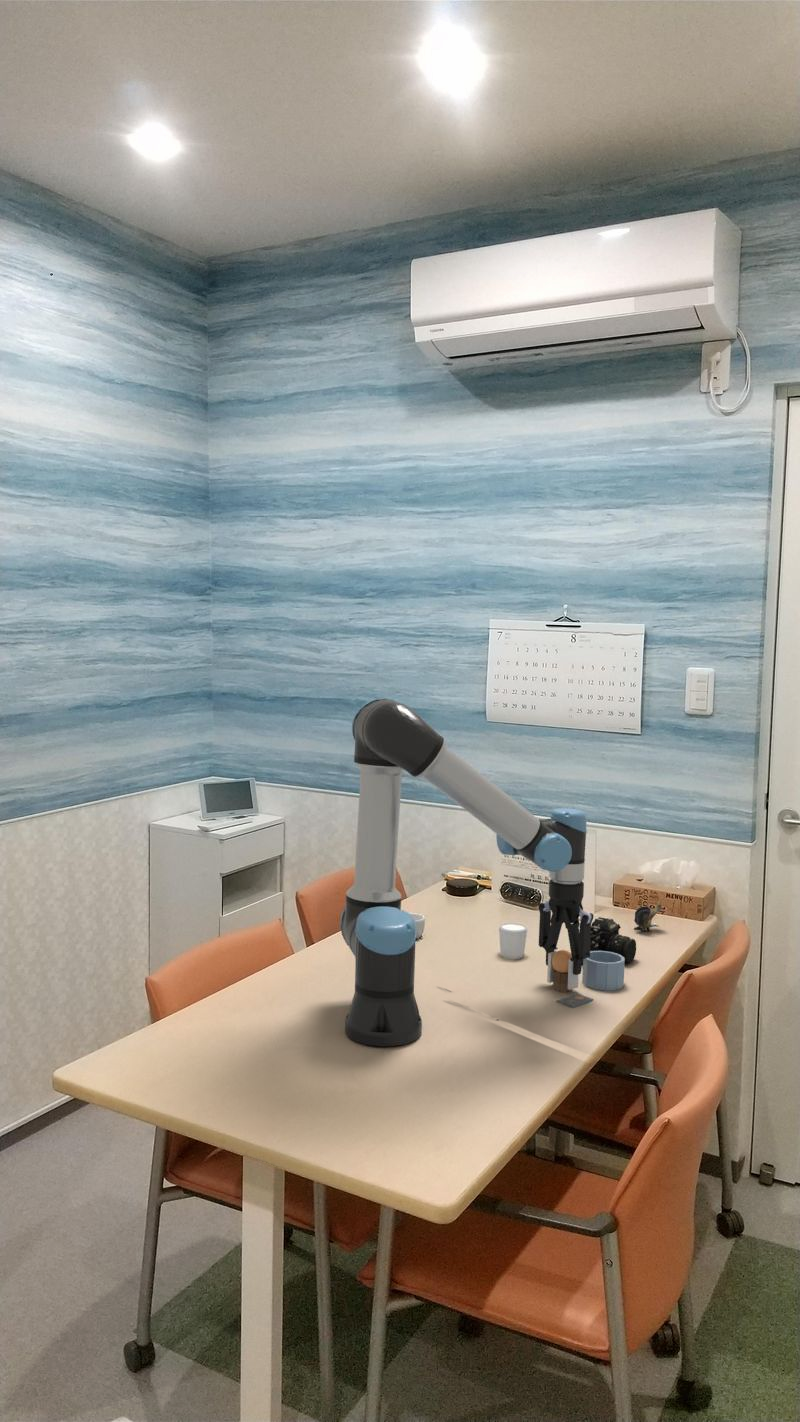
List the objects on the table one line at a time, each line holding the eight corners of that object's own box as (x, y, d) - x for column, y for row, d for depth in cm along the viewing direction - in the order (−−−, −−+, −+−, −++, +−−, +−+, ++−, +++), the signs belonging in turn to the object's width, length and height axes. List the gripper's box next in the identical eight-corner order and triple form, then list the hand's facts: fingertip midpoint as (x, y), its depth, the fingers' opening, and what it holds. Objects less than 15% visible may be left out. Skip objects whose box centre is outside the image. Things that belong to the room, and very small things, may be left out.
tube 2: (607, 993, 215) (608, 966, 214) (574, 982, 221) (575, 955, 221) (631, 984, 221) (632, 958, 220) (598, 974, 227) (599, 948, 227)
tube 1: (563, 993, 214) (564, 975, 214) (549, 988, 217) (550, 970, 217) (575, 989, 217) (576, 971, 216) (561, 984, 220) (561, 966, 219)
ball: (564, 978, 213) (565, 955, 213) (546, 972, 217) (547, 949, 216) (579, 973, 216) (580, 951, 216) (561, 967, 220) (561, 945, 220)
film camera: (631, 976, 227) (633, 933, 226) (577, 969, 231) (579, 927, 230) (638, 953, 244) (640, 914, 243) (588, 947, 248) (589, 908, 247)
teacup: (405, 931, 257) (405, 911, 257) (430, 936, 253) (430, 916, 253) (383, 940, 249) (383, 919, 249) (408, 946, 245) (409, 924, 244)
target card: (572, 1007, 205) (573, 1005, 205) (556, 1001, 209) (556, 1000, 209) (593, 1000, 210) (593, 998, 210) (576, 994, 213) (576, 992, 213)
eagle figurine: (653, 942, 253) (655, 908, 252) (627, 937, 257) (628, 903, 256) (663, 936, 259) (665, 902, 258) (637, 931, 263) (639, 897, 263)
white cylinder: (527, 960, 236) (529, 931, 235) (499, 959, 236) (500, 930, 236) (524, 951, 243) (525, 923, 242) (496, 950, 243) (497, 922, 242)
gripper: (610, 885, 211) (606, 992, 213) (545, 870, 224) (541, 970, 226) (589, 890, 206) (585, 999, 208) (523, 874, 219) (520, 977, 221)
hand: (562, 984), depth 217 cm, fingers closed on ball, 5 cm apart
